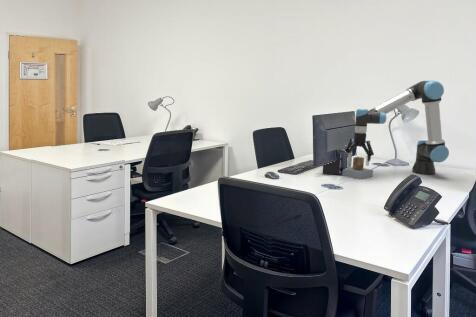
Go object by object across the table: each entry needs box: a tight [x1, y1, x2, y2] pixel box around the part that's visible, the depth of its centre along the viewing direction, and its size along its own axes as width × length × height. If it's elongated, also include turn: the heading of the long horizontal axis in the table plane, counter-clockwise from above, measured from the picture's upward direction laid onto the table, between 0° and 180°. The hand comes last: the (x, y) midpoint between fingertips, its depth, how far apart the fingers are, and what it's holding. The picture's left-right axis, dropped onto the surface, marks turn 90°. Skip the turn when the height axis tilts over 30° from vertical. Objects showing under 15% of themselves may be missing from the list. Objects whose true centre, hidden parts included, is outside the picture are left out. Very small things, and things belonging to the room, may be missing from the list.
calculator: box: [322, 153, 341, 176], centre depth 281 cm, size 11×4×15 cm, turn 84°
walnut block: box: [352, 156, 365, 171], centre depth 276 cm, size 5×5×8 cm
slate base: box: [341, 166, 374, 180], centre depth 277 cm, size 14×14×5 cm
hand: (358, 164), depth 276 cm, fingers open, 13 cm apart
